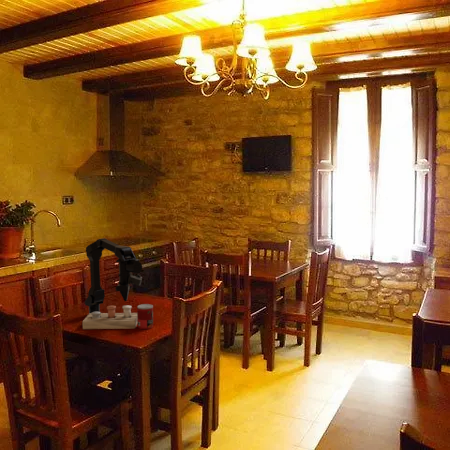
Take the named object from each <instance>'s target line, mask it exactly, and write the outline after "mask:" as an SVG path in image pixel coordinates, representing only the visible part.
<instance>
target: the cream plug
mask: <svg viewBox="0 0 450 450" xmlns="http://www.w3.org/2000/svg"><path fill="white" fill-rule="evenodd" d="M132 308H133V307H132V305H127V304H126V305H122V310H123V313H124V318H131V313H132V311H131V310H132Z"/></svg>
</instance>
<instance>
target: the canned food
mask: <svg viewBox="0 0 450 450" xmlns="http://www.w3.org/2000/svg"><path fill="white" fill-rule="evenodd" d="M136 307H137V308H136V310H137V312H136V313H137V321H138V323H137V328H138V329H140V330H150V329H152V328H153V327H154V305H153V304H149V303H142V304H139V305H137V306H136Z"/></svg>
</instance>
